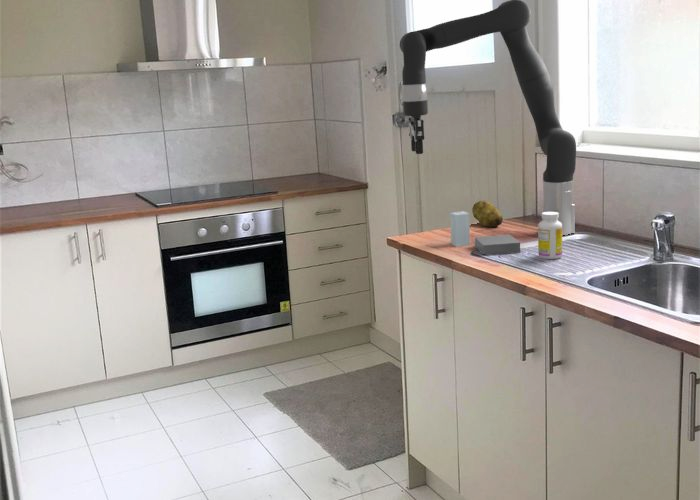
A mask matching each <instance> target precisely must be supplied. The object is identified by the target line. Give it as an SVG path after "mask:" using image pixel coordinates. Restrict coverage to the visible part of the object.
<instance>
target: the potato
mask: <svg viewBox="0 0 700 500" xmlns="http://www.w3.org/2000/svg"><path fill="white" fill-rule="evenodd" d="M471 210H472V215H473V217H474V218H475V220H477V221H478V223H479V224H480V225H481V226H483V227H489V228H496V227H499V226H500V225H501V224H502V223H503V219H504V218H503V215H502V214H501V212H500V211H499V210H498V209H497V207H495V206H494V205H493V204H491V202H489V201H487V200H486V201H485V200H479V201H477V202H476V203H474V204H473V206H472V209H471Z"/></svg>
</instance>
